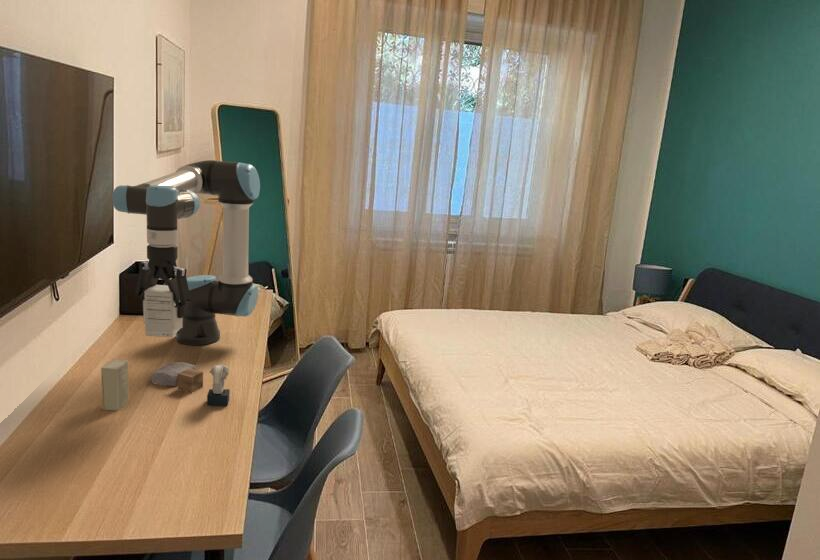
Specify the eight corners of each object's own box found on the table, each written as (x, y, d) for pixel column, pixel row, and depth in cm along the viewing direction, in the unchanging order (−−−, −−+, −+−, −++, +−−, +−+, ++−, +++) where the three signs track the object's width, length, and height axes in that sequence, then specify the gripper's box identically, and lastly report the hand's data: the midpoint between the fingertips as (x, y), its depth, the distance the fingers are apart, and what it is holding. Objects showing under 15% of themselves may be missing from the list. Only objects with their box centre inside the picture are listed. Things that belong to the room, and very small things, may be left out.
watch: (230, 396, 173) (230, 360, 170) (226, 408, 165) (227, 371, 163) (210, 396, 172) (210, 360, 169) (205, 408, 164) (206, 371, 162)
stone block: (148, 389, 178) (178, 387, 176) (145, 373, 177) (175, 372, 175) (170, 376, 189) (199, 374, 187) (168, 361, 188) (196, 360, 186)
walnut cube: (189, 383, 179) (189, 368, 178) (202, 387, 178) (203, 371, 177) (177, 389, 175) (177, 373, 173) (191, 393, 173) (191, 377, 172)
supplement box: (153, 327, 166) (153, 283, 163) (181, 329, 167) (180, 285, 164) (144, 336, 159) (143, 290, 156) (172, 337, 160) (172, 292, 157)
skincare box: (113, 400, 164) (112, 358, 162) (129, 401, 164) (128, 360, 162) (101, 410, 158) (100, 367, 156) (117, 411, 158) (116, 368, 155)
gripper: (118, 240, 157) (120, 321, 162) (186, 252, 150) (186, 336, 155) (139, 237, 164) (141, 315, 169) (206, 248, 157) (205, 329, 162)
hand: (163, 325), depth 162 cm, fingers closed on supplement box, 9 cm apart
